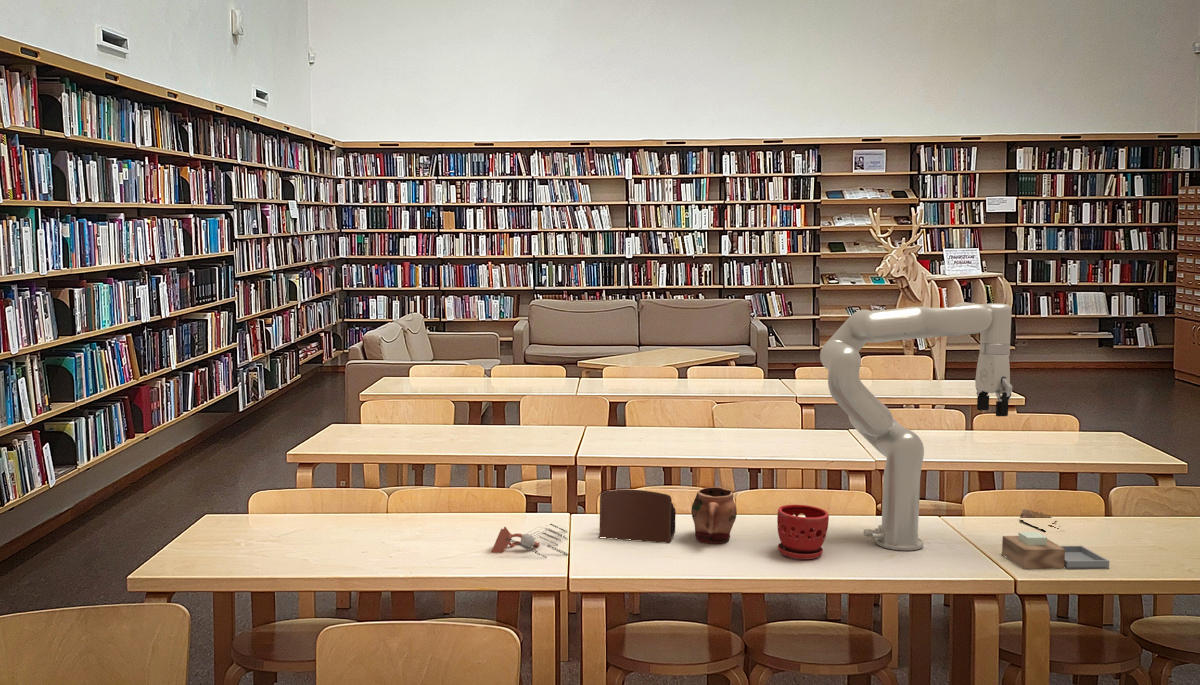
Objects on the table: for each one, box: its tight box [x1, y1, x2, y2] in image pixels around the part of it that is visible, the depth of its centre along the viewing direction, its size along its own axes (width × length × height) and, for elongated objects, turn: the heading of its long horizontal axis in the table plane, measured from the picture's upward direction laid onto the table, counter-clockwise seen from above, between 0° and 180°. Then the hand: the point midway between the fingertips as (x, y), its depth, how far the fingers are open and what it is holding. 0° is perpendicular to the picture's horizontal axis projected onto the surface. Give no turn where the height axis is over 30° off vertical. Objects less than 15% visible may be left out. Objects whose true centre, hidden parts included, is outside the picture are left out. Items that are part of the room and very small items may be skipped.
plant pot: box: [776, 504, 830, 560], centre depth 268 cm, size 13×13×12 cm
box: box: [1059, 545, 1110, 570], centre depth 265 cm, size 11×13×2 cm
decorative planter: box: [691, 486, 738, 544], centre depth 279 cm, size 20×12×14 cm, turn 175°
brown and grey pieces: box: [490, 523, 571, 558], centre depth 276 cm, size 21×9×25 cm
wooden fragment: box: [1019, 508, 1059, 529], centre depth 303 cm, size 26×11×1 cm, turn 168°
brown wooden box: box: [1001, 535, 1065, 570], centre depth 264 cm, size 10×12×5 cm
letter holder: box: [598, 489, 677, 544], centre depth 283 cm, size 10×20×14 cm, turn 78°
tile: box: [1017, 531, 1048, 545], centre depth 264 cm, size 5×5×2 cm
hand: (992, 413), depth 276 cm, fingers open, 9 cm apart
